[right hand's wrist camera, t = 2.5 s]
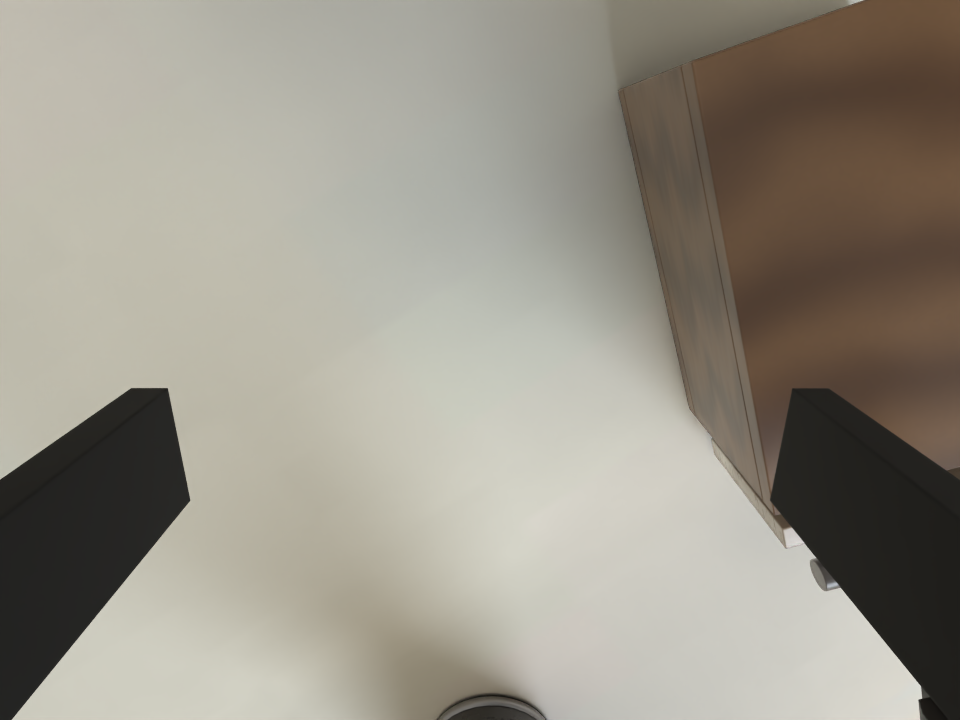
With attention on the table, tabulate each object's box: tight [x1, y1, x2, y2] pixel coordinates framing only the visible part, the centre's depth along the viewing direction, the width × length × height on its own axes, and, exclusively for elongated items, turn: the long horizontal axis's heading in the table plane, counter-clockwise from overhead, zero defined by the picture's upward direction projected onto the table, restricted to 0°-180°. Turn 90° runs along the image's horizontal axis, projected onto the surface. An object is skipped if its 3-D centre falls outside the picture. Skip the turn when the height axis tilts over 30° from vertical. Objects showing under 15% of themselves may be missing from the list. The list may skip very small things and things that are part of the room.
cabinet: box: [618, 0, 960, 515], centre depth 27 cm, size 19×12×11 cm, turn 18°
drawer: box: [711, 438, 960, 591], centre depth 29 cm, size 23×10×9 cm, turn 18°
